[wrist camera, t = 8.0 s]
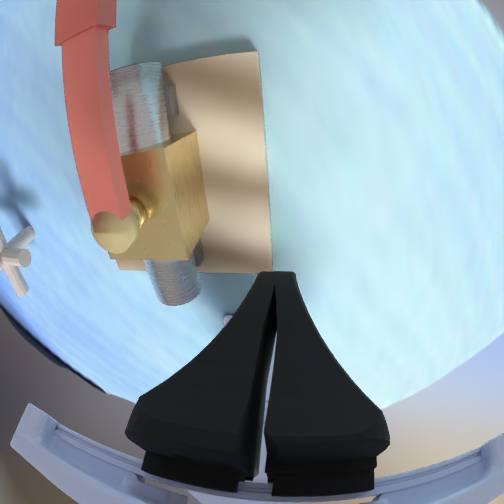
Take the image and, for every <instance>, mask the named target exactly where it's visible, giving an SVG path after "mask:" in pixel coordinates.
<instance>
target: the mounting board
mask: <svg viewBox="0 0 504 504" xmlns="http://www.w3.org/2000/svg"><path fill="white" fill-rule="evenodd" d="M161 68H162V77H163V85H164V86H167V85H176V94H177V101H178V109H179V114H178V115H174V116H170V117H168V122H169V129H170V135H172V134H178V133H185V132H192V131H196V132H197V139H198V147H199V154H200V161H201V167H202V174H203V181H204V187H205V193H206V200H207V206H208V212H209V218H210V220H209V222H208V224H207V226H206V227H205V229H204V231H203V233H202V235H201V237H200V239H201V244H202V249H203V254H204V259H203V261H202V264H201V266H200V267H197V270H198V272H200V273H255V274H259V273H260V272H261V271H272V266H273V262H272V241H271V221H270V202H269V185H268V169H267V153H266V139H265V125H264V111H263V98H262V86H261V74H260V62H259V53H258V52H257V51H252V52H242V53H233V54H225V55H218V56H211V57H205V58H199V59H194V60H189V61H184V62H180V63H175V64H171V65H167V66H163V67H161ZM116 261H117V264H118V266H119V269H120V270H136V271H147V268H146V265H145V262H144V260H127V259H116Z"/></svg>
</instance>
